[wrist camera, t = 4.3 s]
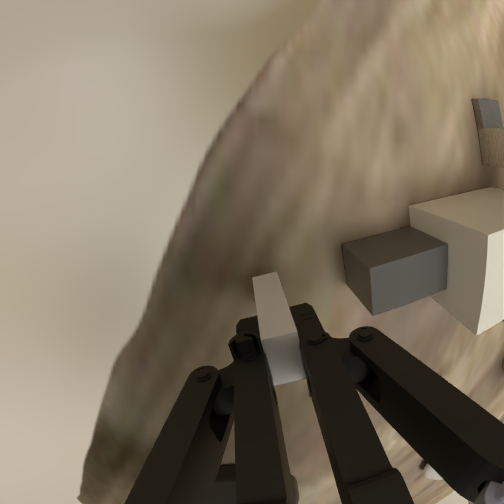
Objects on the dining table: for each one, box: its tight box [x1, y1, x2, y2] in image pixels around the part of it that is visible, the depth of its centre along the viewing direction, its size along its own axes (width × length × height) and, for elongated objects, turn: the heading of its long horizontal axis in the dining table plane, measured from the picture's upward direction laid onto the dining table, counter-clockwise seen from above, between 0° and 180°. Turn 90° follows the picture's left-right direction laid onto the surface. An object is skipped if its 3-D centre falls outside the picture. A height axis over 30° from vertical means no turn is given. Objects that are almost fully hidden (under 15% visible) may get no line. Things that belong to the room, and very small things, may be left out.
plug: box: [342, 187, 504, 336], centre depth 15 cm, size 16×6×8 cm, turn 103°
